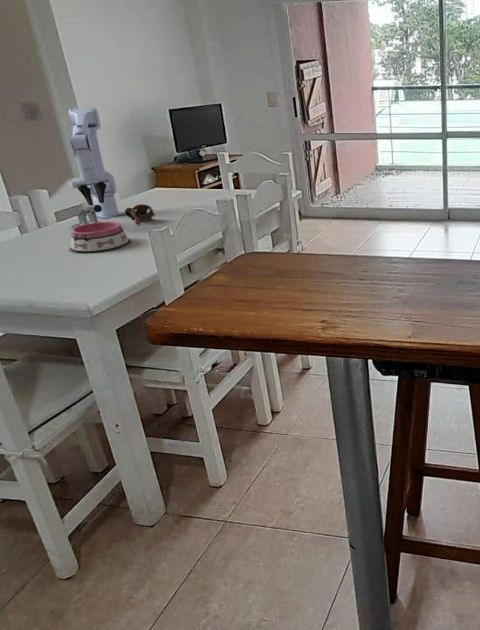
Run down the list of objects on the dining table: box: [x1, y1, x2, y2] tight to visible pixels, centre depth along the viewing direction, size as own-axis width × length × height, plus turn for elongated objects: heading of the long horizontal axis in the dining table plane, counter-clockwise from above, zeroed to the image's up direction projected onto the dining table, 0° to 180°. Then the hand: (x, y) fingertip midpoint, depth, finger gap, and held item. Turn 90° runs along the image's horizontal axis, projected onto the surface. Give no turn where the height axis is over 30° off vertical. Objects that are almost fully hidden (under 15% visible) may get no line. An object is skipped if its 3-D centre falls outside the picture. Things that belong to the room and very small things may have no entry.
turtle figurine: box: [124, 203, 156, 226], centre depth 234 cm, size 12×10×8 cm
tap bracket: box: [71, 205, 100, 229], centre depth 228 cm, size 10×9×8 cm
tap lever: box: [83, 204, 102, 217], centre depth 224 cm, size 13×3×3 cm, turn 56°
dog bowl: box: [70, 221, 130, 254], centre depth 204 cm, size 18×19×7 cm
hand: (96, 203), depth 221 cm, fingers open, 4 cm apart
